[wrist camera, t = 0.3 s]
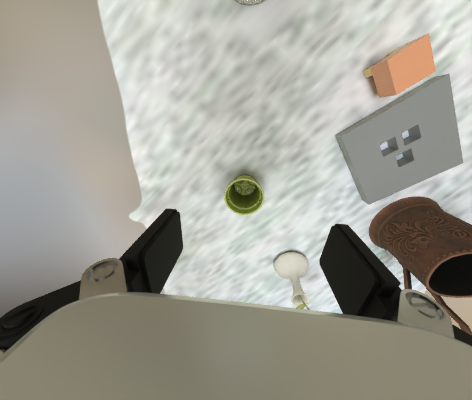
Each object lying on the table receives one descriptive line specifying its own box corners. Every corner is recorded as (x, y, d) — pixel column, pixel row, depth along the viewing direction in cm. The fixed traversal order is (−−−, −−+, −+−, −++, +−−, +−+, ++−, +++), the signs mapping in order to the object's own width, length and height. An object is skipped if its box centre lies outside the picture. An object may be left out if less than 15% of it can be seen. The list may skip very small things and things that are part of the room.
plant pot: (249, 161, 45) (248, 170, 37) (268, 188, 48) (271, 202, 40) (221, 181, 48) (216, 193, 40) (241, 205, 51) (239, 221, 43)
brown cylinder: (459, 209, 46) (656, 296, 24) (394, 268, 57) (489, 367, 34) (399, 187, 45) (549, 256, 22) (344, 251, 55) (409, 343, 33)
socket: (335, 135, 41) (341, 136, 38) (433, 77, 35) (449, 73, 32) (362, 199, 47) (368, 204, 44) (449, 159, 41) (463, 162, 38)
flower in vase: (266, 261, 60) (275, 348, 37) (291, 243, 55) (318, 328, 33) (292, 280, 63) (315, 371, 40) (317, 264, 58) (359, 355, 36)
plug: (362, 71, 35) (387, 60, 29) (394, 49, 33) (428, 33, 27) (371, 98, 37) (396, 94, 31) (402, 79, 35) (435, 71, 29)
